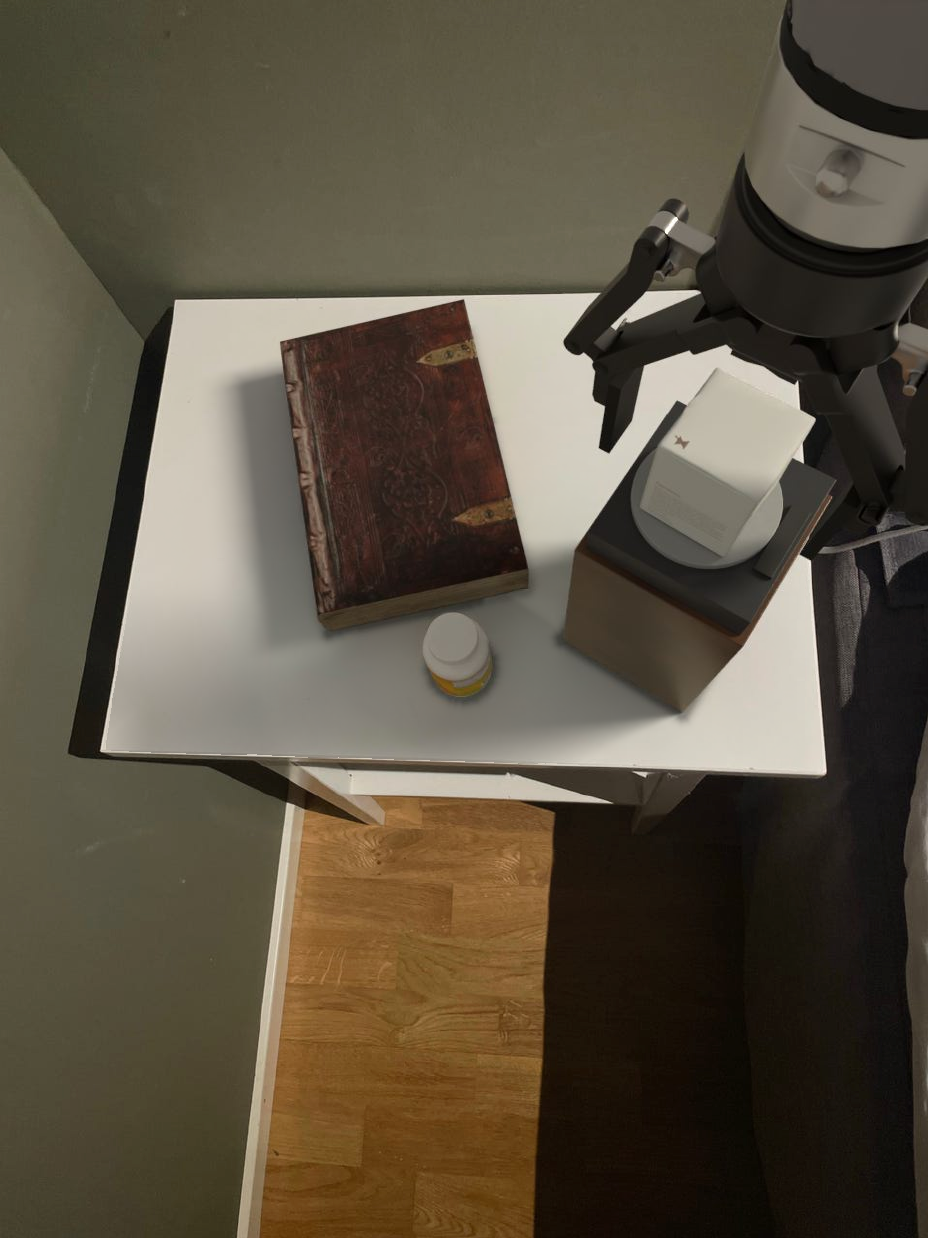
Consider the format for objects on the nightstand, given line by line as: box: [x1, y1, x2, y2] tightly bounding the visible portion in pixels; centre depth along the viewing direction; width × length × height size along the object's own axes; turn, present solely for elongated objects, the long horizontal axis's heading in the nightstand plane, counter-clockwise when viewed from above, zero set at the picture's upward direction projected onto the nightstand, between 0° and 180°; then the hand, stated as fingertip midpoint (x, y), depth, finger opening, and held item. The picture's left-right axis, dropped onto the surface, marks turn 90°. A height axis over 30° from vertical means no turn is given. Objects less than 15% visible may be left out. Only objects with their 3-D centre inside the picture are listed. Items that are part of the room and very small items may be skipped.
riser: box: [562, 415, 833, 713], centre depth 60 cm, size 12×12×20 cm
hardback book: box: [279, 298, 530, 632], centre depth 73 cm, size 29×19×5 cm, turn 11°
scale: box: [585, 400, 837, 635], centre depth 49 cm, size 11×11×3 cm
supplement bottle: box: [422, 611, 493, 698], centre depth 64 cm, size 5×5×10 cm
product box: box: [640, 367, 816, 557], centre depth 44 cm, size 6×6×7 cm
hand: (712, 485), depth 46 cm, fingers open, 12 cm apart
